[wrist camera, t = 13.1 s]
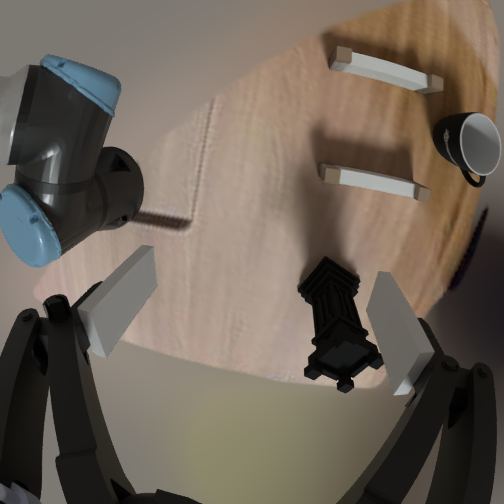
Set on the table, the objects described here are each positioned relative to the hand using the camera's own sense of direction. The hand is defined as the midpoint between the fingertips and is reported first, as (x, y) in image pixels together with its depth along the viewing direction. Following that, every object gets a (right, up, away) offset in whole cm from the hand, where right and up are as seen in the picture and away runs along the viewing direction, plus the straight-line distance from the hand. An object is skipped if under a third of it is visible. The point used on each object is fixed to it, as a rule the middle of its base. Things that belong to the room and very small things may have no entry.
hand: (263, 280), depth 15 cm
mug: (+32, +19, +19) cm, 42 cm away
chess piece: (+13, -4, +32) cm, 35 cm away
